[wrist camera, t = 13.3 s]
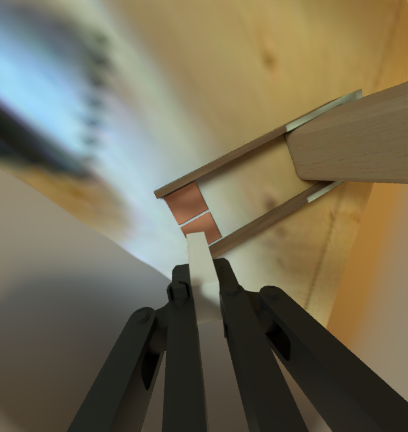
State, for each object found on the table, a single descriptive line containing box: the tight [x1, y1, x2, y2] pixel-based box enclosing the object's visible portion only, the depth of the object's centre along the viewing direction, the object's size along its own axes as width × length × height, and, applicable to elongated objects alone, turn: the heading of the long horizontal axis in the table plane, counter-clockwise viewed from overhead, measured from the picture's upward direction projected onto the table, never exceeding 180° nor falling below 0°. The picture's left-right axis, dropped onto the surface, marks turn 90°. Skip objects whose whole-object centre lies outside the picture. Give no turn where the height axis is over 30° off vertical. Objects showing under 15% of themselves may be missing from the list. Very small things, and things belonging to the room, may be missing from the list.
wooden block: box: [285, 82, 408, 184], centre depth 30 cm, size 10×10×20 cm
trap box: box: [154, 89, 363, 259], centre depth 35 cm, size 15×38×6 cm, turn 117°
